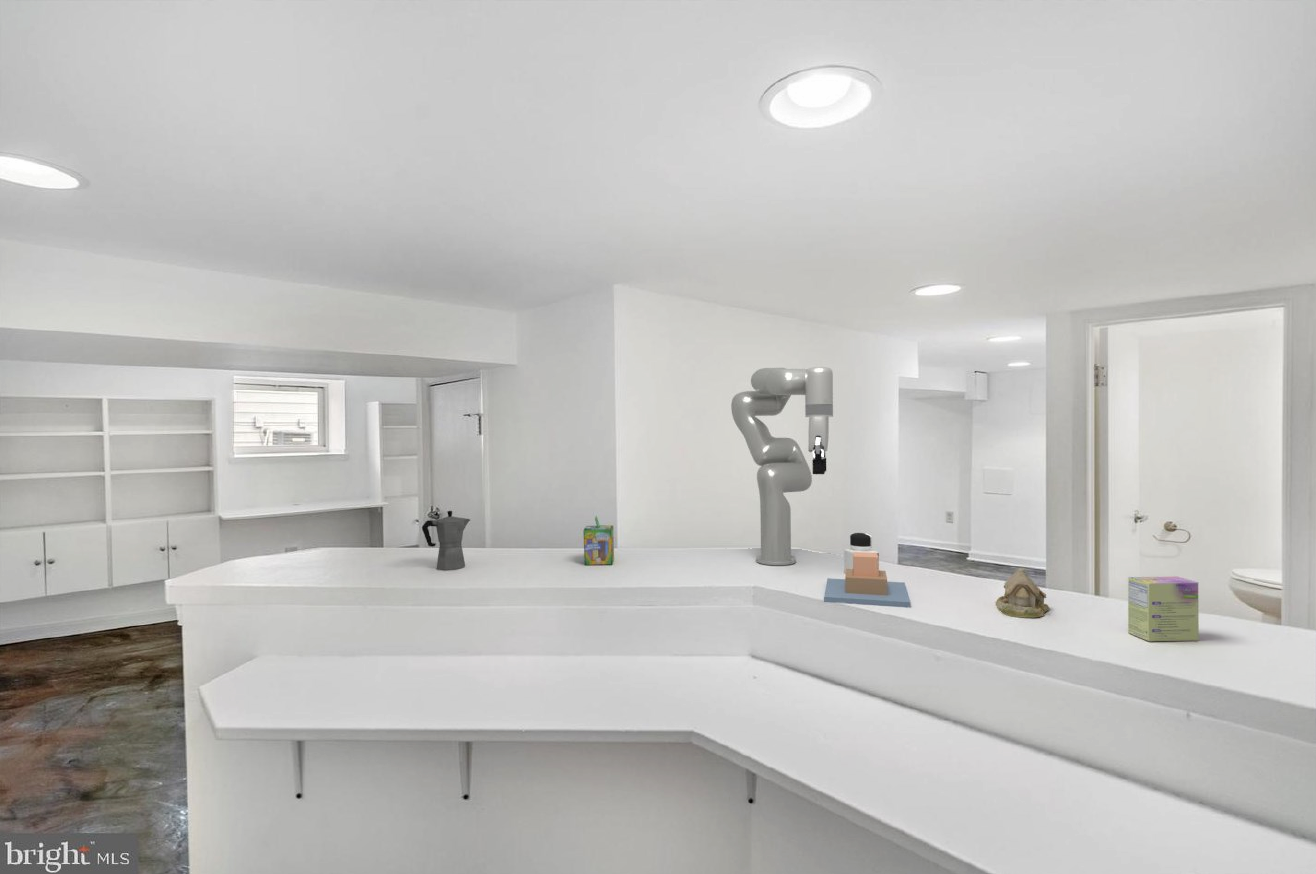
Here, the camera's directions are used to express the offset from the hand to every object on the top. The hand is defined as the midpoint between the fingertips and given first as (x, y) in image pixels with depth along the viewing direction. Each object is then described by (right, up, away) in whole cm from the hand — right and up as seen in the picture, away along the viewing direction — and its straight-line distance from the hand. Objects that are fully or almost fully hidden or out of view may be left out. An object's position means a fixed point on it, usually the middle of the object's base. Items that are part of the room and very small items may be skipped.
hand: (819, 472), depth 182 cm
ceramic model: (+40, -31, -30) cm, 59 cm away
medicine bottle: (+14, -30, +7) cm, 34 cm away
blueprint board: (+8, -31, -14) cm, 35 cm away
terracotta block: (+8, -25, -15) cm, 30 cm away
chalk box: (-64, -31, +29) cm, 77 cm away
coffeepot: (-112, -32, +23) cm, 119 cm away
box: (+57, -31, -50) cm, 82 cm away
